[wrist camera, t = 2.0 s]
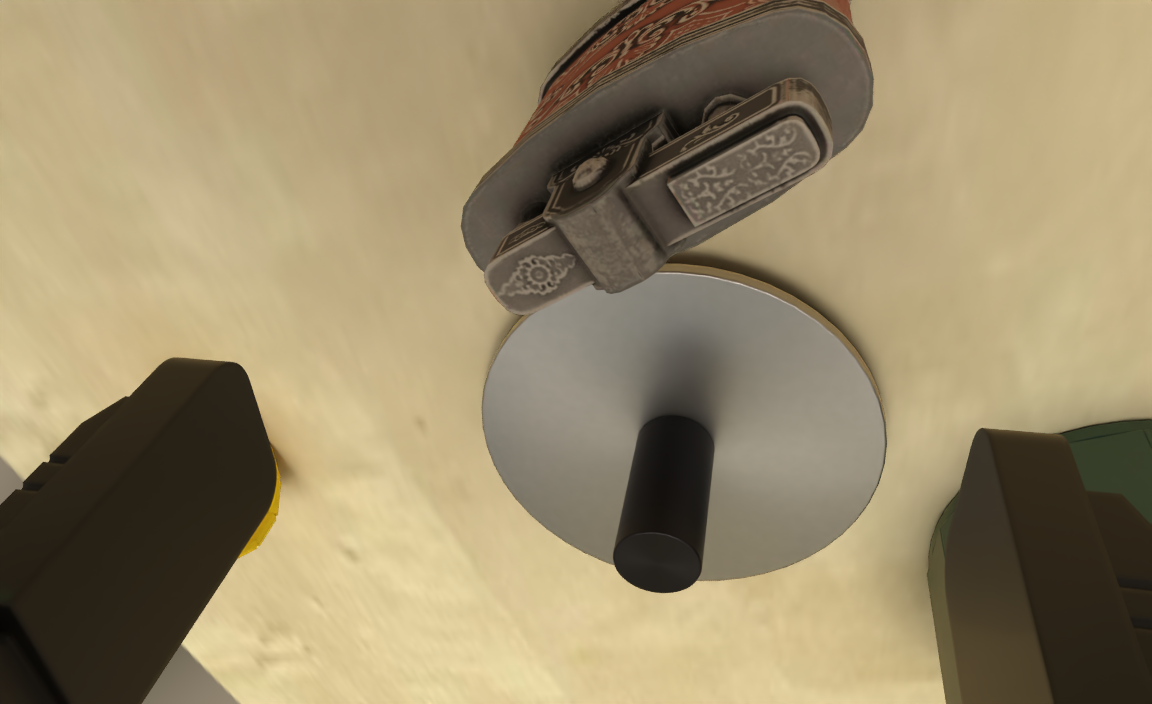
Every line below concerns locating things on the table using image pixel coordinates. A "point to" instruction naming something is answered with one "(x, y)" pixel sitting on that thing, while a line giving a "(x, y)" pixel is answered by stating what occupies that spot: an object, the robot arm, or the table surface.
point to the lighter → (664, 140)
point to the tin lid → (686, 426)
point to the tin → (1106, 464)
